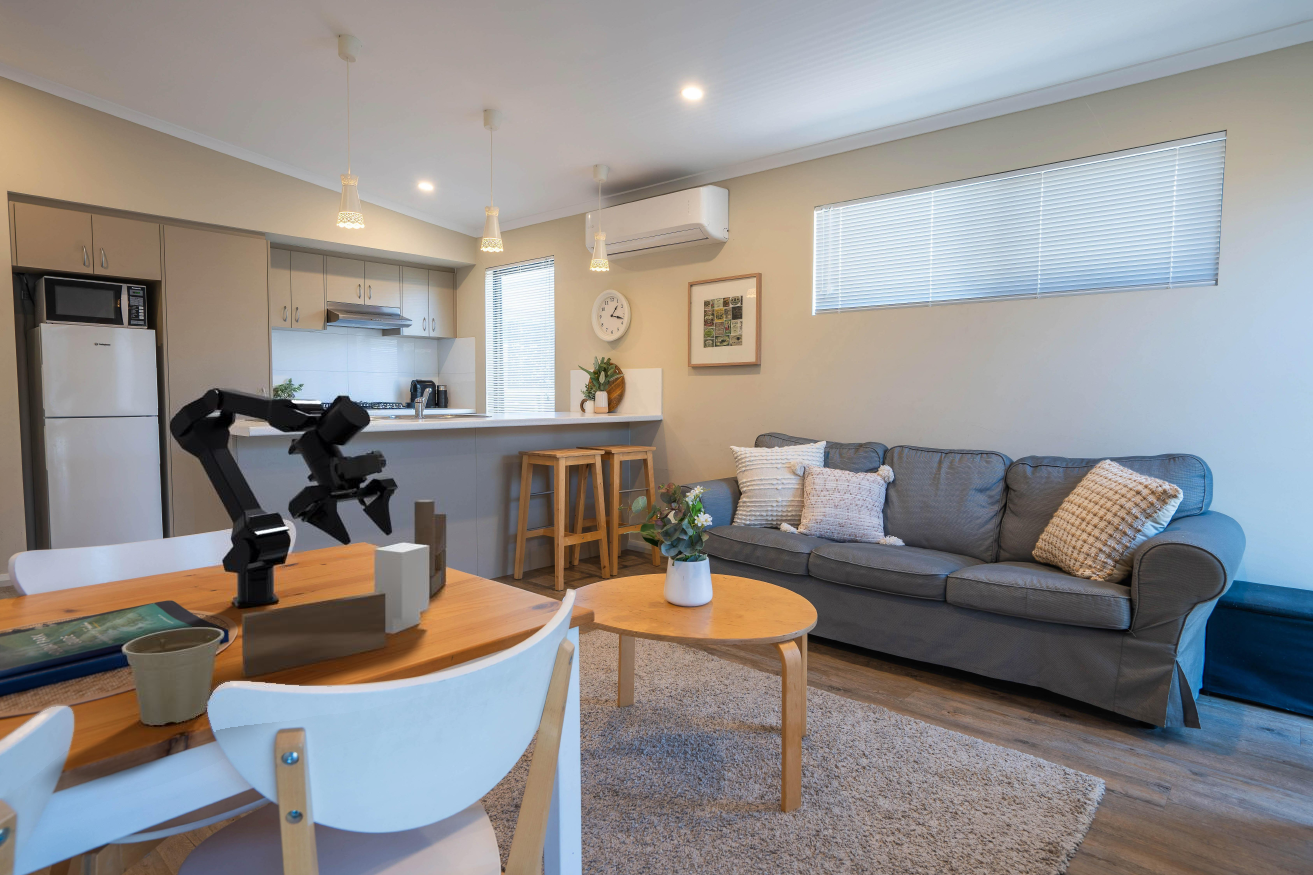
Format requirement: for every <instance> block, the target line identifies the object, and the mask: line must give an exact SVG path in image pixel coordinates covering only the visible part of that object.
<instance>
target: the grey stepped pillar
mask: <svg viewBox="0 0 1313 875" xmlns="http://www.w3.org/2000/svg"><path fill="white" fill-rule="evenodd" d="M413 511H414V512H413V514H414V515H413V516H414V517H413V518H414V521H413V523H414V524H413V526H414V528H413V529H414V531H413V532H414V533H413V534H414V535H413V536H414V538H413V539H414V542H413V544H419V545H428V546H429V598H432V597H433V596H434V595H436V593H437V592H438V591H439V590H440V589H441V588H442V587H443V586H444V585H445V584H446V583H447V550H446V549H447V513H436V512H435V500H433V499H427V498H426V499H418V500H415V501H414V510H413Z"/></svg>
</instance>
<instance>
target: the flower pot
mask: <svg viewBox="0 0 1313 875" xmlns="http://www.w3.org/2000/svg"><path fill="white" fill-rule="evenodd" d="M224 637H225V632H224V631H223V630H222V629H220V628H216V627H205V626H203V627H201V626H200V627H197V626H196V627H185V628H184V627H183V628H177V629H169V630H163V631H158V632H153V633H150V634H147V635H143V636H140V637H137V638H134V639H132V640H130V641H128V642H126V643H124V644H123V646H122V647H121V651H122V653H123V655H125V656H126V658H127V662H128V665H129V666H131V672H132V675H133V676H132V677H133V682H134V687H135V692H136V698H137V703H138V708H139V709H138V710H139V715H140V721H141V722H142V723H143V724H144V725H147V724H148V726H153V725H162V726H164V725H166V724H169V723H175V724H179V722H180V723H183V722H182V721H184V722H187V721H190V720H191V718H192V719H194V718H197V717H198V715H199V716H201V715H202V714H204V713H205V712H206V711H207V709H206V706H207V701H208V699H209V700H210V695H211V690H212V689H211V687H212V680H213V675H214V670H215V669H214V667H215V660H216V655H217V651H218V650H219V649H220V643H221V641H222V640H223V639H224ZM200 714H201V715H200ZM196 716H197V717H196ZM189 719H190V720H189ZM186 720H187V721H186Z"/></svg>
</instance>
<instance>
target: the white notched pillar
mask: <svg viewBox="0 0 1313 875" xmlns="http://www.w3.org/2000/svg"><path fill="white" fill-rule="evenodd" d="M380 591H382V592H384V593H385V599H386V634H390V635H394V634H396V633H399V632H402V631H404V630H407V629H409V628H412V627H414V626H417V625H419V624H420V623H421V613H422V612H425V611H427V610H430V597H429V546H428V545H419V544H414V543H409V542H399V543H395V544H391V545H387V546H383V547H382V546H381V547H378V548H375V549H374V592H380Z"/></svg>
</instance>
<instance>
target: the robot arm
mask: <svg viewBox="0 0 1313 875" xmlns="http://www.w3.org/2000/svg"><path fill="white" fill-rule="evenodd" d="M236 414H237V415H241V416H245V417H250V418H255V419H258V420H263V421H265V422H267V423H268V425H269V426H270V427H272V428H274V429H276V430H278V431H280V432H282V433H284V434H285V433H288V434H289V433H303V434H301V435H300V436H299V437H298V438H292V439H291V442H290V443H291V444H290V445H289V448H288V451H287V454H288V455H290V456H291V455H293V456H295V455H301V457H302V459H303V461H304V463H305V464H306V466H307V468H308V469H309V471H310V474H309V475H308V476H307V480H308V481H309V483H315V482H316V485H308V486H307V485H306V486H305V487H303V488H302V490H300V491H299V492H297V494H296V495H295V496H294V497H293V498H292V499H291V500H289V502H288V509H287V510H288V512H289V514H290V515H291V517H292V519H293V520H298V519H300V520H301V522H302V523H307V524H310V525H312V527H315V528H317V529H318V530H320V531H321V532H324V533H325V534H327V535H329V536H330V537H332V538H333V539H334V540H337V541H338V542H340V543H341V544H342V545H344V546H347V545H349V544H350V543H351V542H352V541H351V540H352V539H351V537H350V534H349V533H348V531H347V528H346V526H345V525H344V522H343V521H342V518H341V517H340V515H339V512H338V503H344V502H351V501H356V500H357V501H358V503H359V505H360V506H363V508H362V511H363V512H364V514H365V515H367V517H368V518H369V519H370V520H371V521H372V522H373V523H374V525H376V527H377V528H379V530H380V531H381V532H383V533H384V535H386V536H390V535H391V534H392V533H393V527H392V520H391V514H390V500H391V497H393V495H394V494H395V492H396V490H398V489H399V486H398V485H397V483H396V480H394V478H393V477H389V476H383V477H376V478H375V477H374V478H372V479H371V480H370V481H369V482H368V483H367V484H366V485H365V486H364V487H363V486H362V487H361V484H364V483H365V482H366V481H367V480H368V478H367V476H371V475H374V474H380V473H383V469H385V468H386V466H387V459H386V456H384V454H383V452H382V451H381V450H379V449H378V450H377V449H376V450H371V451H369V452H368V451H367V452H366V453H365V454H360V455H359V454H358V455H355V456H353V457H352V456H351V455H348V456H345V455H344V453H343V452H342V450H341V449H340V447H339V446H341V447H342V446H343V447H345V446H347V445H348V444H350V443H351V442H352V441H353V440H354V439H355V438H356V437H357V436H358V435H359V434H360V433H361V432H363V431H364V430H365V429H366V428H367V427H368V426H369V425H370V423H371V416H370V414H369V412H368V410H367V409H365V408H364V407H363V406H362V405H360V404H359V403H357V402H356V401H354V400H352V399H351V398H350V396H349V395H343V394H341V395H340V394H339V395H337V396H336V397H335V398H334V399H333V401H332V403H331V404H329V406H328V407H327V408H325V407H324V406H323V403H322V402H321V401H320V400H317V399H309V398H308V399H306V398H304V399H303V398H302V399H300V398H299V399H298V398H274V397H269V396H264V395H261V394H254V393H249V392H245V391H241V390H238V389H237V388H227V387H226V388H225V387H224V388H223V387H213V388H211V389H208V390H207V391H206V392H205V393H204V394H203V395H202V396H201V397H199V398H197V399H195V400H193V401H191V402H189V403H187V404H186V405H184V406H182V408H180V409H179V411H178V412H177V413H176V414H175V415H174V416H173V417H172V418H171V420H170V422H169V431H170V433H171V436H172V437H173V438H174V440H175V441H176V442H177V444H178V445H179V446H180V448H181V449H182V450H184V451H185V452H187V453H189V454H190V455H192V456H193V457H195V458H197V459H198V460H199V462H200V464H201V466H202V468H203V470H204V471H205V473H206V475H207V477H208V479H209V481H210V483H211V484H212V486H213V488H214V490H215V492H216V494H217V495H218V497H219V499H220V501H221V503H222V505H223V507H224V509H225V510H226V512H227V514H228V516H229V518H230V519H231V521H232V529H231V535H230V541H231V543H232V547H231V548H230V549H229V550H228V552H227V553H226V554H225V556H224V557H223V558H222V561H221V563H222V565H223V569H224V572H225V573H233V574H236V582H237V583H236V589H237V590H236V595H237V596H234V597H233V598H232V601H233V603H234V605H235V607H236V609H240V608H241V609H242V608H247V607H249V608H250V607H254V606H261V605H262V606H263V605H269V604H275V603H276V604H277V603H279V602H280V598H279V597H278V596H277V595H276V593H275V567H276V566H280V565H285V564H286V562H287V558H288V554H289V551H290V547H291V542H292V539H291V536H290V533H289V532H290V528H289V527H288V526H287V525H286V524H285V521H284V520H283V517H282V515H281V513H280V512H277V511H276V512H269V513H268V512H266V511H265V510H264V509H262V507H261V505H260V503H259V501H258V499H257V498H256V496H255V494H254V492H253V491H252V489H251V487H250V485H249V483H248V481H247V479H246V478H245V476H244V474H243V472H242V470H241V469H240V467H239V465H238V463H237V461H236V460H235V458H234V456H233V454H232V452H231V451H230V449H229V443H230V437H231V432H230V428H231V427H232V426H233V425H234V424H235V423H236V417H237V416H236ZM288 531H289V532H288Z"/></svg>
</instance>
